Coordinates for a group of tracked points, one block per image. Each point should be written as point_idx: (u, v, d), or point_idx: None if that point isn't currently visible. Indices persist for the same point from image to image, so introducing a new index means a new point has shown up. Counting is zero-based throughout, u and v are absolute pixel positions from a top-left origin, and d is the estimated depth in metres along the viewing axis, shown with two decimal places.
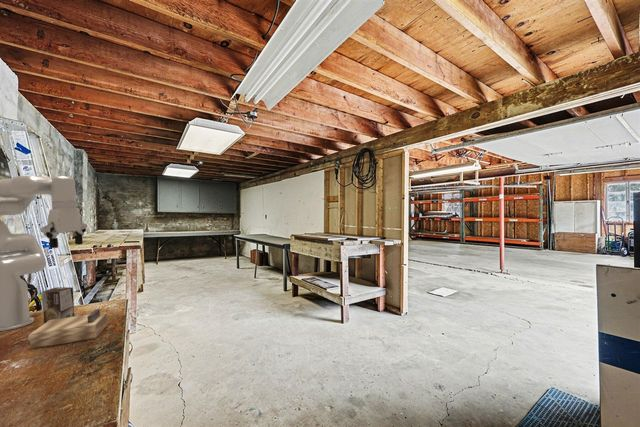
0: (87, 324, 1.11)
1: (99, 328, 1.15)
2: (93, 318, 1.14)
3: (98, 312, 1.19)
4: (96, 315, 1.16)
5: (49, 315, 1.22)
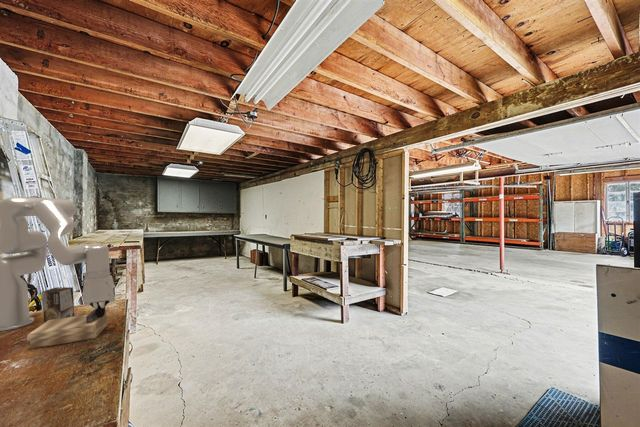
0: (86, 324, 1.11)
1: (99, 328, 1.15)
2: (92, 318, 1.13)
3: None
4: (95, 315, 1.16)
5: (49, 315, 1.22)
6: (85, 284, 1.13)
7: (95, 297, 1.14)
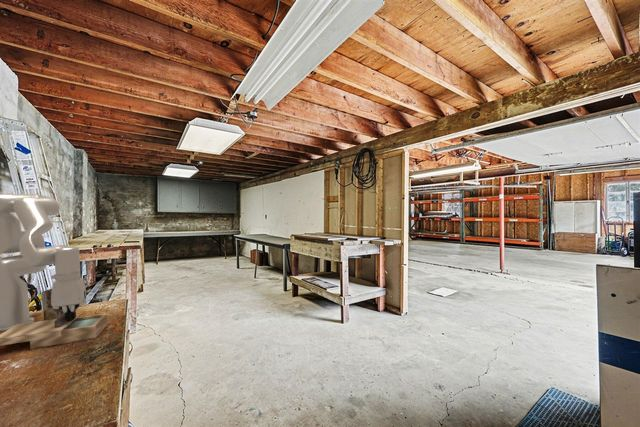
0: (53, 329, 1.07)
1: (99, 328, 1.15)
2: (61, 323, 1.10)
3: None
4: None
5: (49, 315, 1.22)
6: (53, 287, 1.09)
7: (64, 300, 1.10)
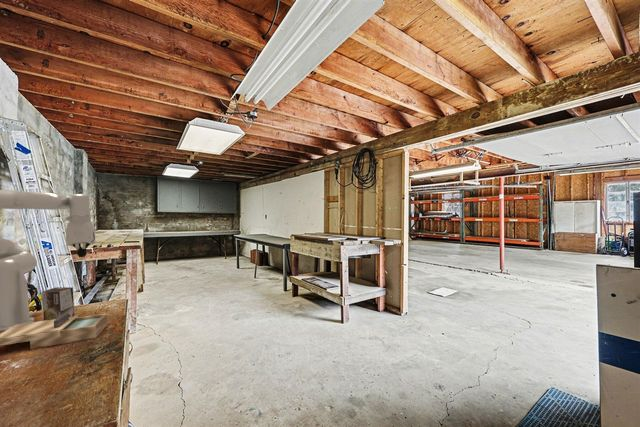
0: (53, 329, 1.07)
1: (99, 328, 1.15)
2: (60, 323, 1.10)
3: (66, 316, 1.15)
4: (64, 319, 1.12)
5: (49, 315, 1.22)
6: (68, 226, 1.29)
7: (77, 238, 1.30)
